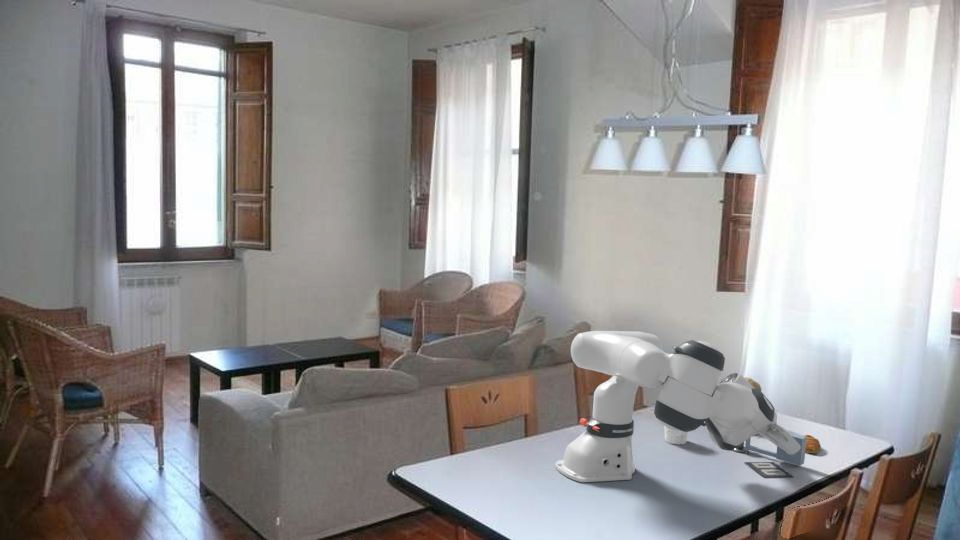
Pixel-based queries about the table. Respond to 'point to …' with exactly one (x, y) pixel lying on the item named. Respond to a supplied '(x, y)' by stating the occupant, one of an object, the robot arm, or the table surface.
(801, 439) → the swing arm
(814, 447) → the pastry
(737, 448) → the pivot post
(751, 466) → the label panel
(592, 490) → the table surface
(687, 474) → the table surface
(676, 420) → the robot arm
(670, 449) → the table surface
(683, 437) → the white cup
